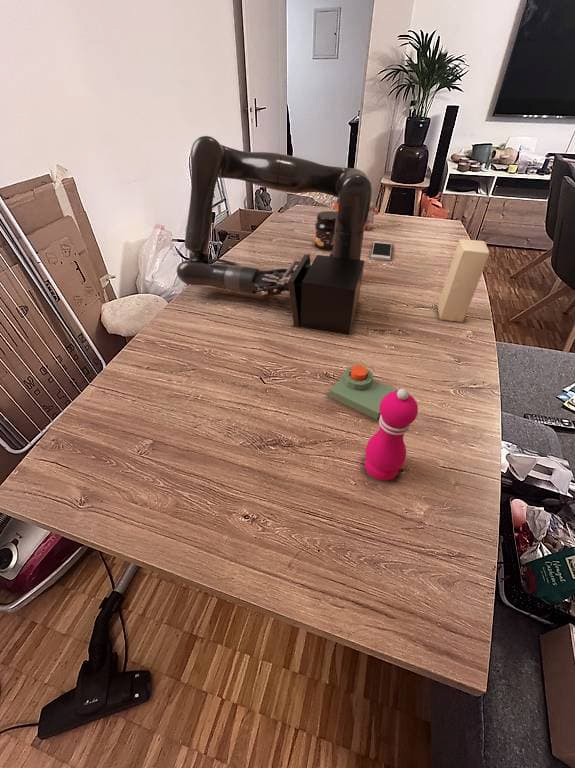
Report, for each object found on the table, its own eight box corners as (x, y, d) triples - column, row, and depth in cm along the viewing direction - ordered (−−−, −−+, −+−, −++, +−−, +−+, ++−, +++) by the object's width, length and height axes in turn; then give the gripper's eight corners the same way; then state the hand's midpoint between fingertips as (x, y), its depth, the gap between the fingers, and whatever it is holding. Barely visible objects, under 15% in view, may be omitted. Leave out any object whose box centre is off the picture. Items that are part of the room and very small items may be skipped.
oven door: (284, 325, 108) (277, 281, 99) (300, 296, 121) (295, 254, 112) (299, 326, 106) (293, 281, 98) (313, 296, 119) (309, 254, 111)
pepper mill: (358, 452, 74) (375, 376, 60) (394, 450, 74) (418, 373, 61) (367, 484, 68) (387, 408, 55) (405, 481, 69) (435, 405, 56)
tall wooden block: (465, 323, 109) (493, 252, 95) (439, 320, 110) (462, 250, 96) (462, 309, 115) (487, 240, 101) (437, 306, 116) (458, 238, 102)
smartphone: (370, 258, 142) (371, 256, 141) (373, 243, 153) (374, 240, 152) (389, 260, 140) (390, 258, 140) (391, 245, 151) (392, 242, 151)
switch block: (329, 397, 85) (330, 384, 83) (349, 374, 91) (351, 361, 89) (376, 420, 80) (380, 407, 78) (395, 394, 86) (399, 382, 84)
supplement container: (309, 243, 152) (311, 212, 144) (332, 239, 156) (335, 209, 148) (321, 253, 145) (323, 221, 137) (345, 248, 148) (348, 217, 140)
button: (347, 377, 85) (348, 371, 84) (355, 369, 87) (355, 363, 86) (361, 383, 84) (362, 377, 82) (368, 375, 86) (370, 369, 85)
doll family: (376, 228, 165) (382, 196, 156) (371, 236, 159) (376, 203, 150) (331, 221, 172) (334, 190, 163) (324, 228, 165) (326, 196, 156)
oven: (300, 327, 107) (301, 281, 97) (314, 297, 120) (316, 254, 110) (348, 335, 104) (355, 289, 94) (358, 303, 117) (364, 260, 107)
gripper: (232, 277, 105) (292, 286, 102) (249, 258, 115) (304, 266, 111) (235, 301, 110) (291, 310, 107) (251, 281, 120) (303, 289, 116)
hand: (298, 287), depth 109 cm, fingers closed
